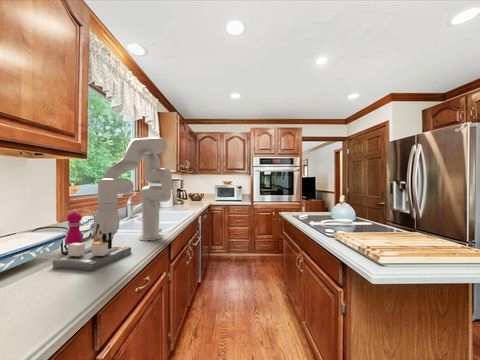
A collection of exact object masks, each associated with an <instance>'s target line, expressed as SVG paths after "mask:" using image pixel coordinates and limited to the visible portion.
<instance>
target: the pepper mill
mask: <svg viewBox="0 0 480 360" xmlns="http://www.w3.org/2000/svg"><path fill="white" fill-rule="evenodd" d="M82 219H83V216H82V214H81V213H80V212H78V211H77V209H72V212H71V213H69V214H68V215H67V216H66V221H67V222H68V223H67V226H68V228H69V229H68V232H67V235H66V237H65V240H64V244H65V245H66V244H67V243H70V244H72V243H83V242H84V238H83V235H82V233H81V231H80V230H81V229H80V225H81V221H82Z"/></svg>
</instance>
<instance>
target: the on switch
mask: <svg viewBox="0 0 480 360" xmlns="http://www.w3.org/2000/svg"><path fill="white" fill-rule="evenodd" d="M85 249H86V243H85V242H84V243H83V242H82V243H72V244H69V245H68V252H67V255H68V256H81V255H84V254H85Z"/></svg>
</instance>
